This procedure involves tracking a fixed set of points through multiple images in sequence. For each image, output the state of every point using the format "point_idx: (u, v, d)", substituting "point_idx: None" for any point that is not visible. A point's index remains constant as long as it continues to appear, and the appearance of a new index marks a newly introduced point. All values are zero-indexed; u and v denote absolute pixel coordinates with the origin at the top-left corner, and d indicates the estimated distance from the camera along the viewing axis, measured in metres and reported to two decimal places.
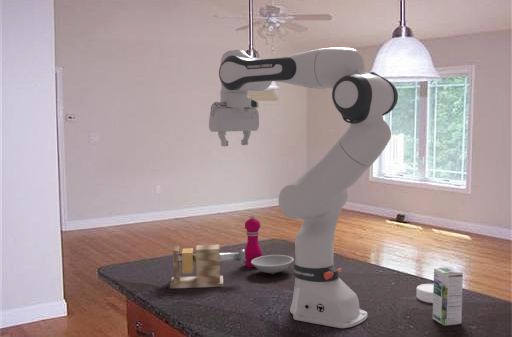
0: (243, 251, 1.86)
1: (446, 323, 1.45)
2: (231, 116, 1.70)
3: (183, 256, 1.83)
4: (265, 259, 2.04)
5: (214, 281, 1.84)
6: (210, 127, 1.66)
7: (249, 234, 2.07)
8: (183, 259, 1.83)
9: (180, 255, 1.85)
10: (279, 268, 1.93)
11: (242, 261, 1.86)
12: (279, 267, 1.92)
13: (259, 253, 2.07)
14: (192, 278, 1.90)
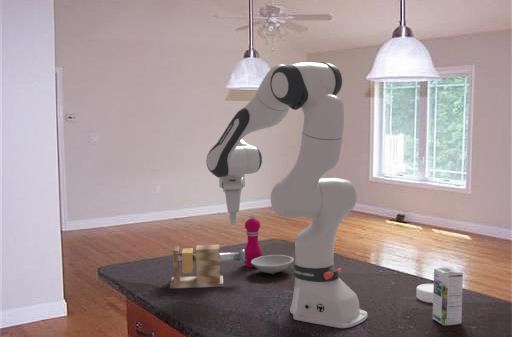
0: (243, 251, 1.86)
1: (446, 323, 1.45)
2: None
3: (183, 256, 1.83)
4: (265, 259, 2.04)
5: (214, 281, 1.84)
6: None
7: (249, 234, 2.07)
8: (183, 259, 1.83)
9: (180, 255, 1.85)
10: (279, 268, 1.93)
11: (242, 261, 1.86)
12: (279, 267, 1.92)
13: (259, 253, 2.07)
14: (192, 278, 1.90)
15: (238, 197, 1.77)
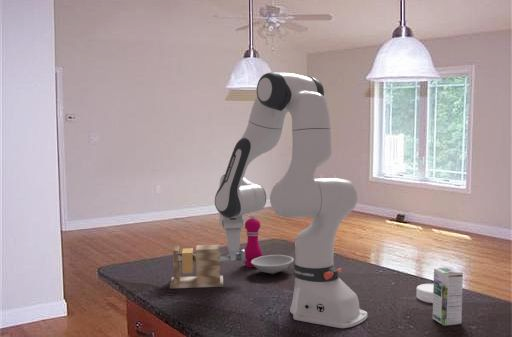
0: (243, 251, 1.86)
1: (446, 323, 1.45)
2: None
3: (183, 256, 1.83)
4: (265, 259, 2.04)
5: (214, 281, 1.84)
6: None
7: (249, 234, 2.07)
8: (183, 259, 1.83)
9: (180, 255, 1.85)
10: (279, 268, 1.93)
11: (242, 261, 1.86)
12: (279, 267, 1.92)
13: (259, 253, 2.07)
14: (192, 278, 1.90)
15: (238, 236, 1.77)
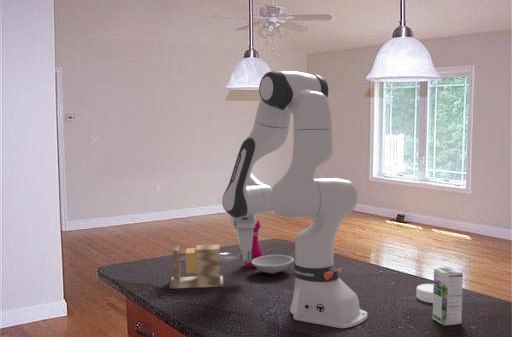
0: (249, 251, 1.87)
1: (446, 323, 1.45)
2: None
3: (187, 256, 1.83)
4: (265, 259, 2.04)
5: (214, 281, 1.84)
6: None
7: None
8: (186, 259, 1.83)
9: None
10: (279, 268, 1.93)
11: (248, 261, 1.86)
12: (279, 267, 1.92)
13: (259, 253, 2.07)
14: (192, 278, 1.90)
15: (251, 236, 1.78)
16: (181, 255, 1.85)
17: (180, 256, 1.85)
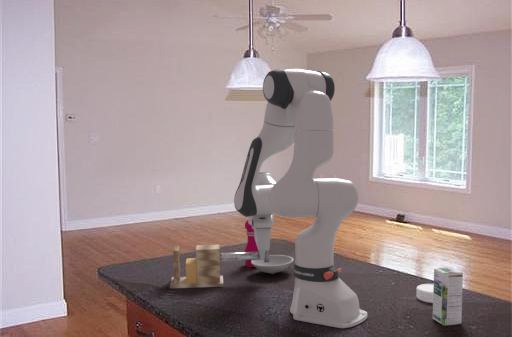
0: None
1: (446, 323, 1.45)
2: None
3: (187, 266, 1.83)
4: None
5: (214, 281, 1.84)
6: None
7: (249, 234, 2.07)
8: (187, 269, 1.83)
9: None
10: (279, 268, 1.93)
11: (266, 260, 1.87)
12: (279, 267, 1.92)
13: None
14: None
15: (268, 235, 1.78)
16: None
17: None
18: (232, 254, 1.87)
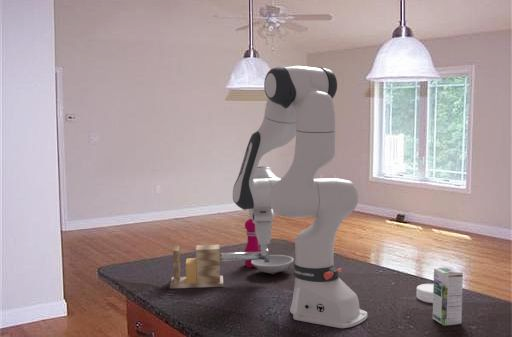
0: (267, 250, 1.87)
1: (446, 323, 1.45)
2: None
3: (187, 266, 1.83)
4: None
5: (214, 281, 1.84)
6: None
7: (249, 234, 2.07)
8: (187, 269, 1.83)
9: None
10: (279, 268, 1.93)
11: (266, 260, 1.87)
12: (279, 267, 1.92)
13: None
14: None
15: (269, 229, 1.78)
16: None
17: None
18: (232, 254, 1.87)
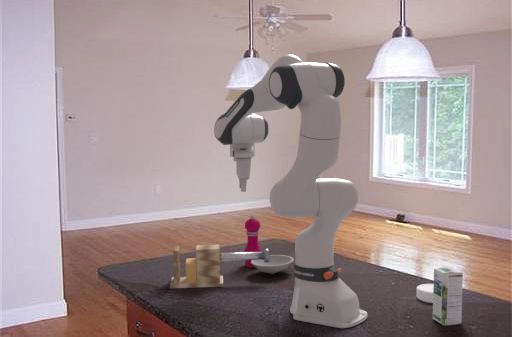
0: (267, 250, 1.87)
1: (446, 323, 1.45)
2: None
3: (187, 266, 1.83)
4: None
5: (214, 281, 1.84)
6: None
7: (249, 234, 2.07)
8: (187, 269, 1.83)
9: None
10: (279, 268, 1.93)
11: (266, 260, 1.87)
12: (279, 267, 1.92)
13: None
14: None
15: (248, 165, 1.84)
16: None
17: None
18: (232, 254, 1.87)
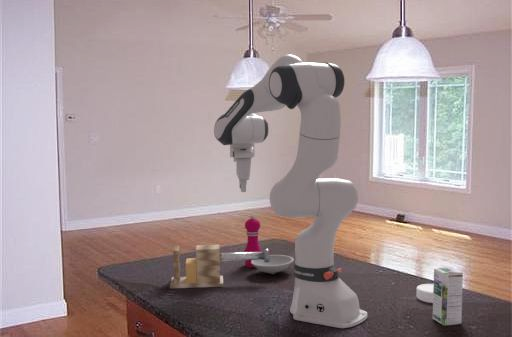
0: (267, 250, 1.87)
1: (446, 323, 1.45)
2: None
3: (187, 266, 1.83)
4: None
5: (214, 281, 1.84)
6: None
7: (249, 234, 2.07)
8: (187, 269, 1.83)
9: None
10: (279, 268, 1.93)
11: (266, 260, 1.87)
12: (279, 267, 1.92)
13: None
14: None
15: (248, 165, 1.84)
16: None
17: None
18: (232, 254, 1.87)
